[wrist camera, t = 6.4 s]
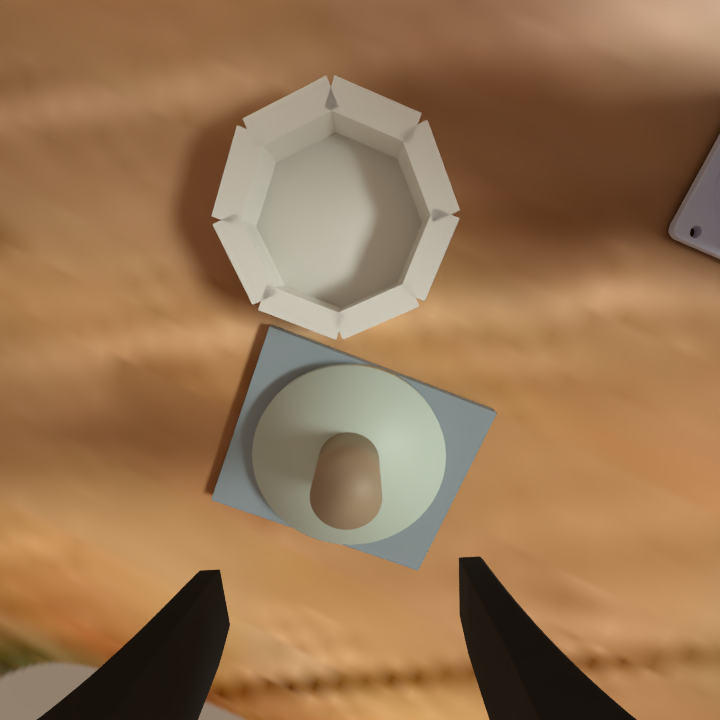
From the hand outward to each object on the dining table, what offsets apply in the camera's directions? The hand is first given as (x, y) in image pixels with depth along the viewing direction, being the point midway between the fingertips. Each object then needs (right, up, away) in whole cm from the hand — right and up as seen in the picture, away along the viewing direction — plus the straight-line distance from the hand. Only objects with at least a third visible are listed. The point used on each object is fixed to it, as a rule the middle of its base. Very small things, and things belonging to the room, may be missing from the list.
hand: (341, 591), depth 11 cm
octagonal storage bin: (0, +13, +6) cm, 15 cm away
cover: (0, +2, +8) cm, 8 cm away
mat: (0, +2, +9) cm, 9 cm away
